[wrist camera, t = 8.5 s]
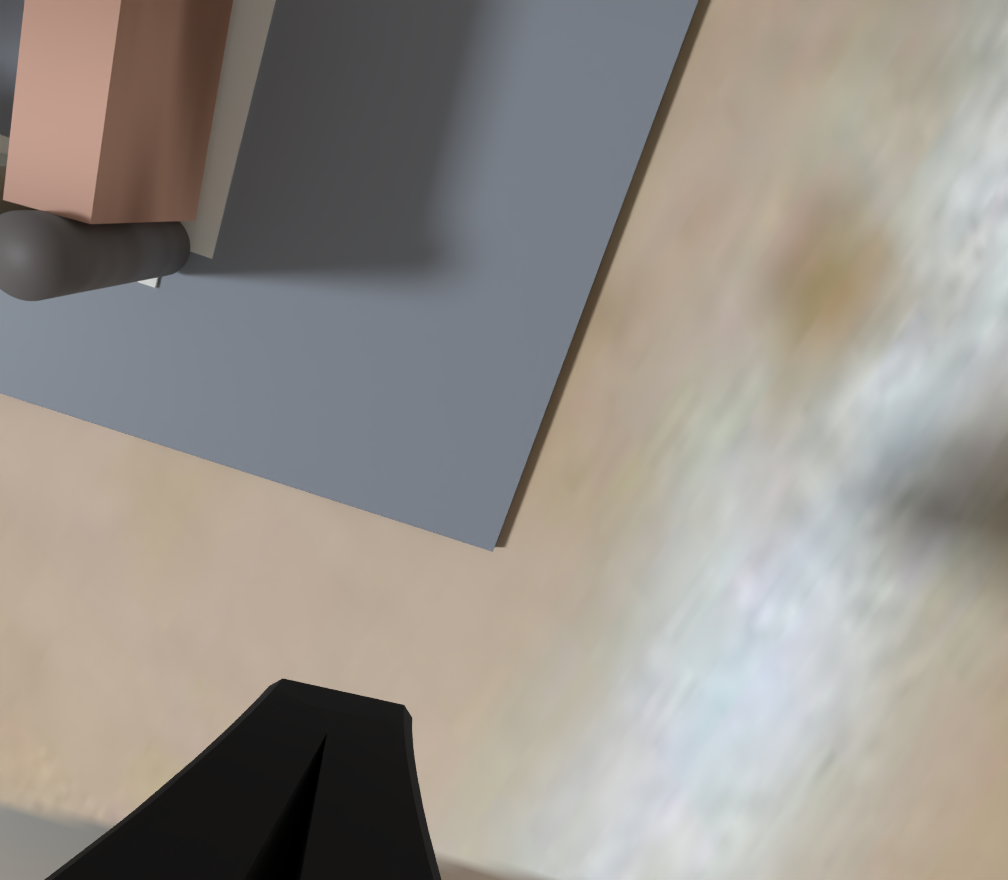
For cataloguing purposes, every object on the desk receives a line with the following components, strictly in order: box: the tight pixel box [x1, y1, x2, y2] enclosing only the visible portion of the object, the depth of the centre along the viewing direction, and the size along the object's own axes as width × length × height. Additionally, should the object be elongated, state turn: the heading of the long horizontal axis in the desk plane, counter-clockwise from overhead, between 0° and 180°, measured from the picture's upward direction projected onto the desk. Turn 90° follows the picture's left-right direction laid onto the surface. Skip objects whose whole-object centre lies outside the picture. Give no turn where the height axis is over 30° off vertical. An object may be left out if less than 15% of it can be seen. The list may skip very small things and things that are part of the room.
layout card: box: [0, 0, 698, 552], centre depth 15 cm, size 18×16×1 cm
